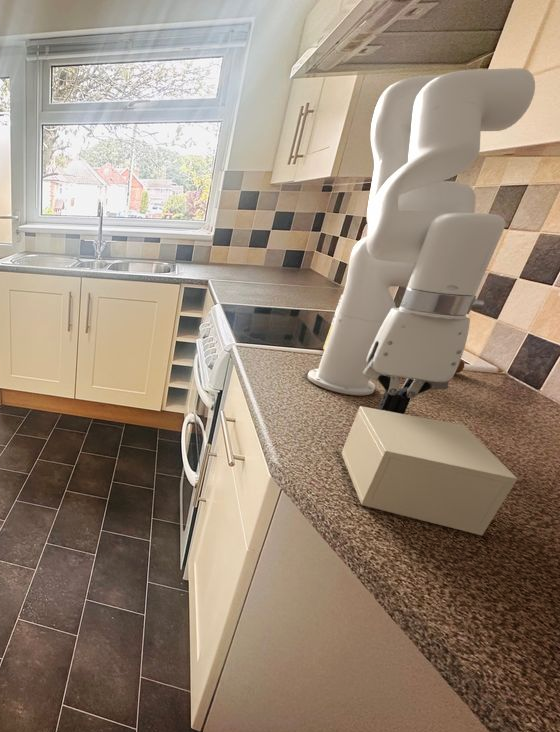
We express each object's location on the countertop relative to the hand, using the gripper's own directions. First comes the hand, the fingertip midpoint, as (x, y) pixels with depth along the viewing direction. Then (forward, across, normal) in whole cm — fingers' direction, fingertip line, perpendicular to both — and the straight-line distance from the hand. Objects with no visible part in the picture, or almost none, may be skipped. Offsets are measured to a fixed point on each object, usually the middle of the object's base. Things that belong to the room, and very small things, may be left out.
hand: (388, 415), depth 68 cm
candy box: (+3, -4, -52) cm, 52 cm away
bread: (+3, -19, -52) cm, 55 cm away
